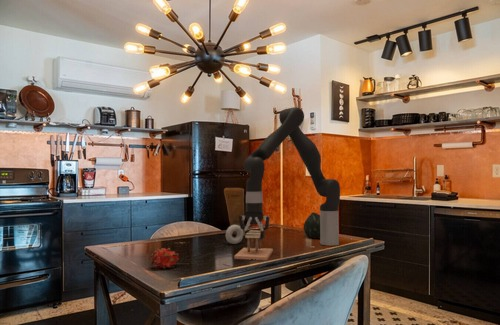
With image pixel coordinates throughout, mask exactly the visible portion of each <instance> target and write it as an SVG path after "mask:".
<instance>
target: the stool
mask: <svg viewBox="0 0 500 325" xmlns="http://www.w3.org/2000/svg"><path fill="white" fill-rule="evenodd" d="M260 231H261V230H251V229H250V230H248V232H247V233H246V234H245V236H244V239H246V238H247V239H246V240H247V244H246V245H247V247H246V248H247V250H248V252H250V248H251V249H254V248H256V252H258V248H259V249H261V248H262V240H261V232H260ZM254 239H255V242H254ZM254 243H255V246H254Z"/></svg>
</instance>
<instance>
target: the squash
mask: <svg viewBox="0 0 500 325" xmlns="http://www.w3.org/2000/svg"><path fill="white" fill-rule="evenodd" d="M302 228H303V232H304V234H305V236H306V237H307V238H310V239H316V238H317V239H318V240H320V213H316V212H310V214H309V215H308V217H307V218H306V219H305V221H304V223H303V227H302Z"/></svg>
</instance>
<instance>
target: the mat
mask: <svg viewBox="0 0 500 325" xmlns="http://www.w3.org/2000/svg"><path fill="white" fill-rule="evenodd" d="M273 252H274V249H273V248H262V247H261V249H259V247H258V252H256V247H254V249H251V247H250V252H248V250H247V247H243V248H242V249H240V250H239V251H238V252H237V253H236V254H234V256H233V257H234V260H251V259H253V261H255V259H256V260H257V261H267V260H268V259H269V258H270V257H271V255H272V254H273Z"/></svg>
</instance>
